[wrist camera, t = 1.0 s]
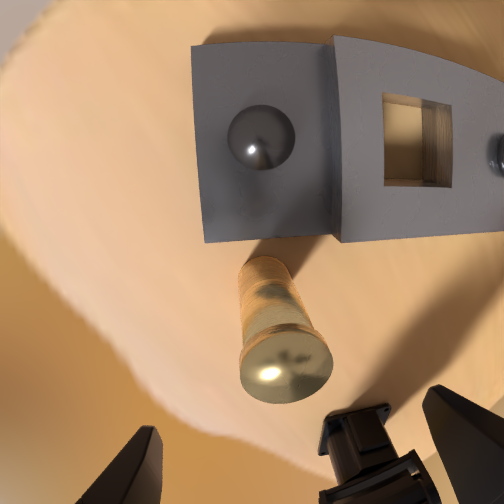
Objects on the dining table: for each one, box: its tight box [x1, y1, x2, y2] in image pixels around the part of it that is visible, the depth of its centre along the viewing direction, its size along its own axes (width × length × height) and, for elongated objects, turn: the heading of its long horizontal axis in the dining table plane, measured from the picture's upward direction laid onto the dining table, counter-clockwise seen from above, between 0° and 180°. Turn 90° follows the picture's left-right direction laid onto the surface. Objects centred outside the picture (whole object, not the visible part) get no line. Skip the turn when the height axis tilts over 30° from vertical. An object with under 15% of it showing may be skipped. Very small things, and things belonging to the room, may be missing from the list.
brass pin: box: [238, 256, 333, 404], centre depth 14 cm, size 3×3×8 cm
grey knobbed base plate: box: [191, 35, 504, 243], centre depth 13 cm, size 10×22×4 cm, turn 93°
